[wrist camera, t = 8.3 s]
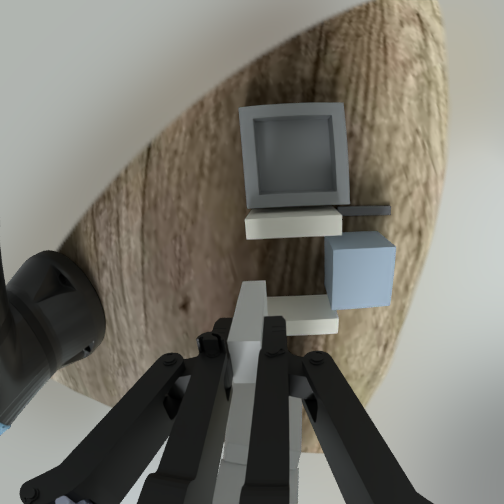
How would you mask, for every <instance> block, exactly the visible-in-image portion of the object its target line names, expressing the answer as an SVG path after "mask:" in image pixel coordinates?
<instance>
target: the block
mask: <svg viewBox="0 0 504 504" xmlns="http://www.w3.org/2000/svg"><path fill="white" fill-rule="evenodd" d="M324 244H325V279H324V285H325V288H326V292H327V295H328V299H329V302H330V306H331V309H332V310H342V309H356V308H368V307H379V306H389V305H390V301H391V294H392V285H393V276H394V266H395V254H396V246H394V245H393V244H392V243H391V242H390V241H389V240H387V239H386V238H385V237H384V236H383V235H381V234H380V233H379V232H378V231H360V232H342V235H337V236H324Z"/></svg>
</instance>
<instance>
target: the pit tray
mask: <svg viewBox="0 0 504 504" xmlns="http://www.w3.org/2000/svg"><path fill="white" fill-rule="evenodd" d="M239 119H240V131H241V143H242V154H243V166H244V178H245V189H246V201H247V209H252V208H269V207H288V206H311V205H342V204H350V191H349V166H348V149H347V136H346V124H345V114H344V105H343V103H287V104H271V105H258V106H248V107H239Z"/></svg>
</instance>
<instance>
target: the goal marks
mask: <svg viewBox="0 0 504 504" xmlns="http://www.w3.org/2000/svg"><path fill="white" fill-rule="evenodd" d="M337 211H338V212H339V213H340V214H341V215H342V216H359V215H391V206H337Z"/></svg>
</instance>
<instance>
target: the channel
mask: <svg viewBox="0 0 504 504" xmlns="http://www.w3.org/2000/svg"><path fill="white" fill-rule="evenodd" d="M245 228H246V239H268V238H289V237H312V236H337V235H342V215H341V214H340V213H339V212H338V211H337V210H336V209H335V208H334V207H333V206H332V205H331V206H304V207H282V208H264V209H252V210H251V211H250V212H249V214H248V215H247V217H246V218H245ZM267 309H268V316H283V318H284V319H285V320H286V336H295V335H317V334H333V333H338V321H339V318H338V314H337V311H336V310H332V309H331V306H330V302H329V299H328V295H327V294H324V295H304V296H278V297H267Z"/></svg>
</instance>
